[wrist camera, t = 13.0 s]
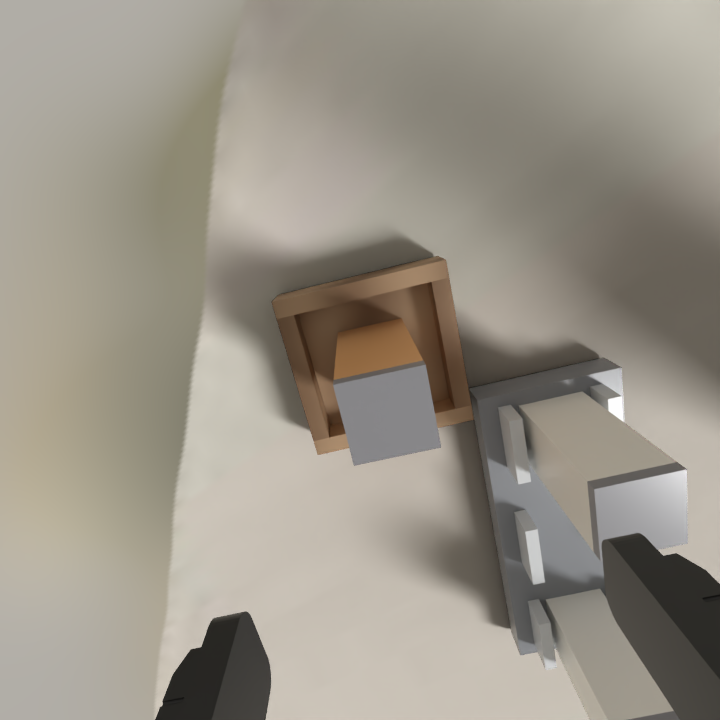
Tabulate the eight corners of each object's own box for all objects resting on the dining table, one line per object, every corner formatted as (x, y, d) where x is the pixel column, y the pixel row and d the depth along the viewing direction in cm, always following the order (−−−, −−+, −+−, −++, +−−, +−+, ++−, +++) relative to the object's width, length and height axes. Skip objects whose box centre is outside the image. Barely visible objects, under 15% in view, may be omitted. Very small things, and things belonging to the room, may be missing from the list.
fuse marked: (401, 318, 27) (425, 364, 19) (413, 377, 28) (441, 447, 20) (337, 332, 27) (333, 384, 19) (352, 391, 29) (354, 465, 20)
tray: (437, 255, 27) (445, 259, 25) (464, 403, 30) (473, 419, 28) (278, 294, 27) (271, 302, 25) (320, 436, 30) (318, 454, 28)
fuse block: (603, 357, 29) (746, 436, 19) (621, 610, 36) (734, 772, 25) (468, 388, 30) (534, 482, 19) (511, 632, 36) (577, 800, 26)
